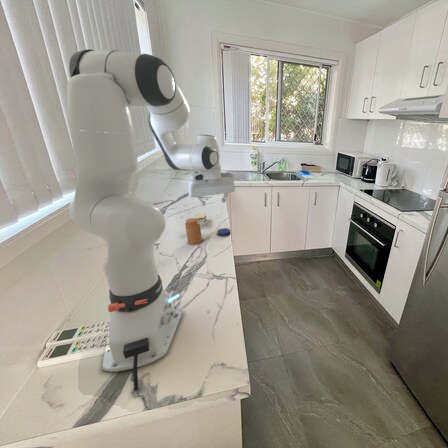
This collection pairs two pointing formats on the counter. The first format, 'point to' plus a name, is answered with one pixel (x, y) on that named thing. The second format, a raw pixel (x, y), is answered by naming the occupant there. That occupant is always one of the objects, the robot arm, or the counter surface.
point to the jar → (193, 231)
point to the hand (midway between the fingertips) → (213, 203)
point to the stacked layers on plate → (203, 220)
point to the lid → (224, 232)
